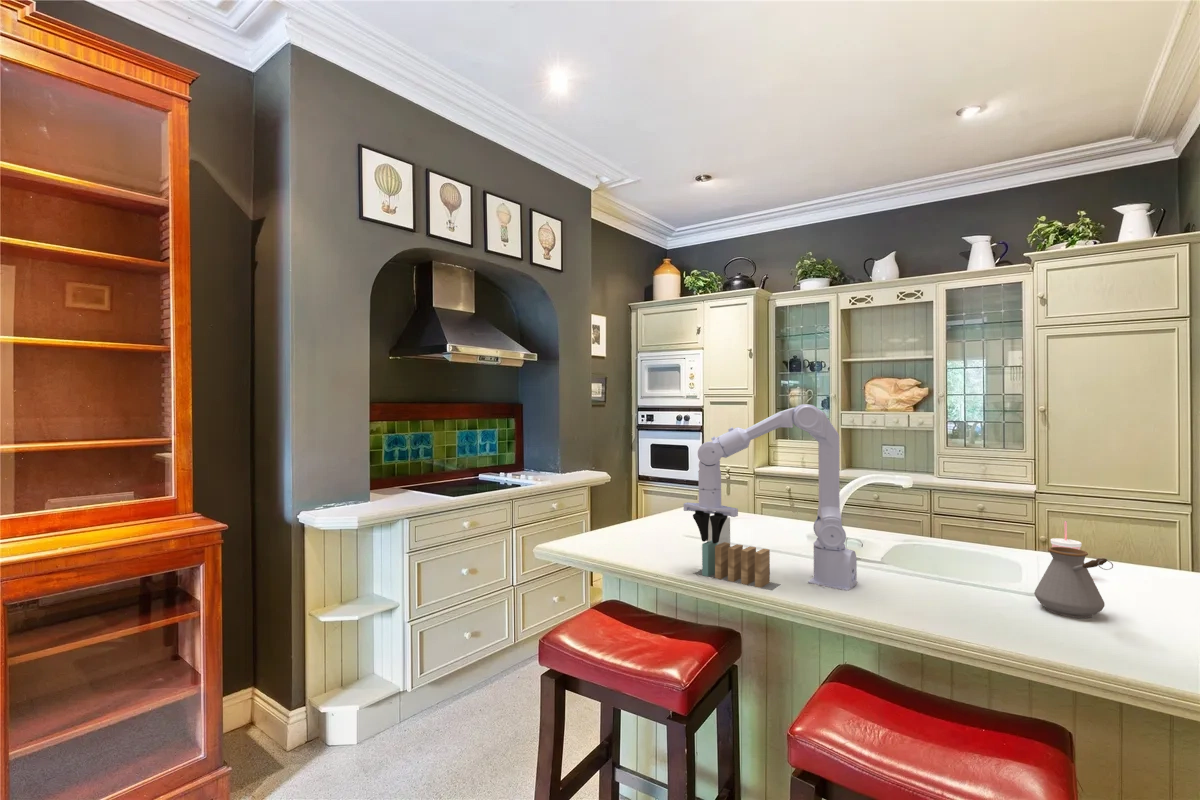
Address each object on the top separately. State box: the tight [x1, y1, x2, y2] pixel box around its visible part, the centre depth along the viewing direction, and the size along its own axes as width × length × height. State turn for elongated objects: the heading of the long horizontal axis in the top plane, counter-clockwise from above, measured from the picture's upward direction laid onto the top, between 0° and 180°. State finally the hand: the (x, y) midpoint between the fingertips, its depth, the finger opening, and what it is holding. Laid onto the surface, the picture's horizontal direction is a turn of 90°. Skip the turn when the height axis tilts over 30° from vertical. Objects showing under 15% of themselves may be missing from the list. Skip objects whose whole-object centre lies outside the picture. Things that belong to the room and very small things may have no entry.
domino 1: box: [714, 542, 731, 580], centre depth 145 cm, size 2×5×8 cm, turn 141°
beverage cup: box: [1050, 520, 1083, 550], centre depth 145 cm, size 6×6×14 cm
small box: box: [706, 513, 731, 544], centre depth 172 cm, size 8×6×10 cm
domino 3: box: [740, 546, 757, 586], centre depth 141 cm, size 2×5×8 cm, turn 141°
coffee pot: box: [1034, 546, 1114, 619], centre depth 116 cm, size 21×12×15 cm, turn 162°
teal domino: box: [701, 540, 718, 577], centre depth 147 cm, size 2×5×8 cm, turn 139°
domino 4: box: [755, 548, 771, 589], centre depth 138 cm, size 2×5×8 cm, turn 141°
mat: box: [692, 569, 782, 591], centre depth 143 cm, size 21×6×1 cm, turn 51°
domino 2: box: [727, 544, 744, 583], centre depth 143 cm, size 2×5×8 cm, turn 141°
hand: (710, 541), depth 147 cm, fingers open, 2 cm apart
